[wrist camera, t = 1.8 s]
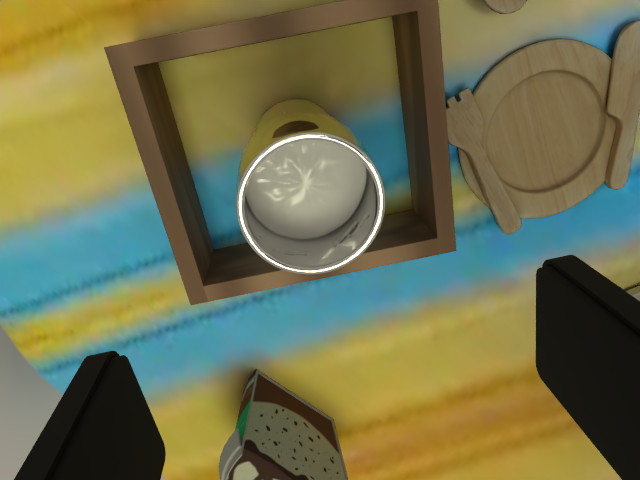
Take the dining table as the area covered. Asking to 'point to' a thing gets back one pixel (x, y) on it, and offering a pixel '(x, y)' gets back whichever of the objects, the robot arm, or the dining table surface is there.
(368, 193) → the beer glass
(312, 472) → the food container
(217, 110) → the dining table surface
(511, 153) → the tableware set
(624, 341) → the robot arm
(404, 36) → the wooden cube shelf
